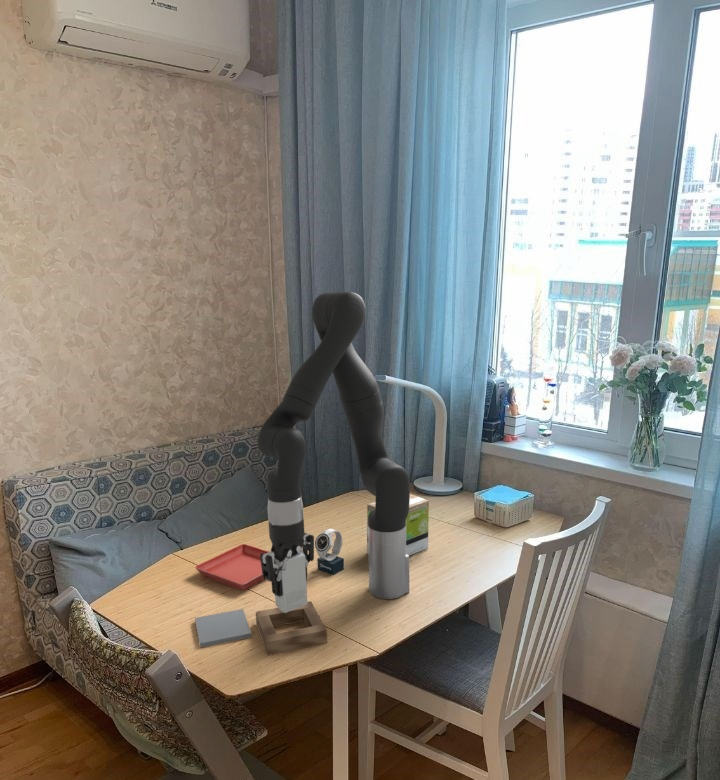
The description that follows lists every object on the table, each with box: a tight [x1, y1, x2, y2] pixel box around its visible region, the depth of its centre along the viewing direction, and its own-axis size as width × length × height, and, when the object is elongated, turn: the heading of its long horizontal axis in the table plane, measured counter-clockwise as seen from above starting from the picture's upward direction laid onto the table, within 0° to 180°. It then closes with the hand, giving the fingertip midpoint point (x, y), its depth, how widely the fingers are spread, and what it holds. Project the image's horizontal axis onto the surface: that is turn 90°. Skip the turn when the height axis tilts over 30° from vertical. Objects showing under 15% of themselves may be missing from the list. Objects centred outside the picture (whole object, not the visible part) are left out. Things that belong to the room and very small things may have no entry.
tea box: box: [366, 493, 430, 557], centre depth 186 cm, size 15×10×15 cm, turn 131°
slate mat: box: [194, 608, 252, 648], centre depth 150 cm, size 11×11×1 cm
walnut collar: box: [255, 601, 328, 656], centre depth 148 cm, size 13×13×3 cm
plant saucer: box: [195, 543, 270, 591], centre depth 177 cm, size 18×18×3 cm
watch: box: [314, 528, 345, 576], centre depth 176 cm, size 6×8×11 cm
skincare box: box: [274, 553, 309, 613], centre depth 145 cm, size 6×4×12 cm
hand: (290, 588), depth 146 cm, fingers closed on skincare box, 6 cm apart
